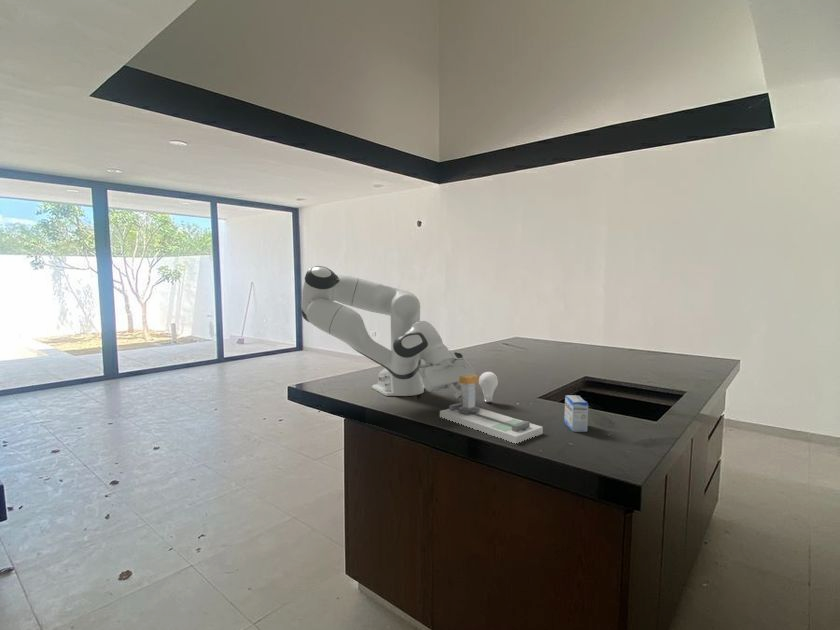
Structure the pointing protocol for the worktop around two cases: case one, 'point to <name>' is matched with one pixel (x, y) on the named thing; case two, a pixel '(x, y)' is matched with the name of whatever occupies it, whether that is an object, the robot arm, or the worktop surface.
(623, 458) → the worktop surface
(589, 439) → the worktop surface
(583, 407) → the medicine box
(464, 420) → the fader console
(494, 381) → the light bulb
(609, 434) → the worktop surface
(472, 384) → the fader lever
